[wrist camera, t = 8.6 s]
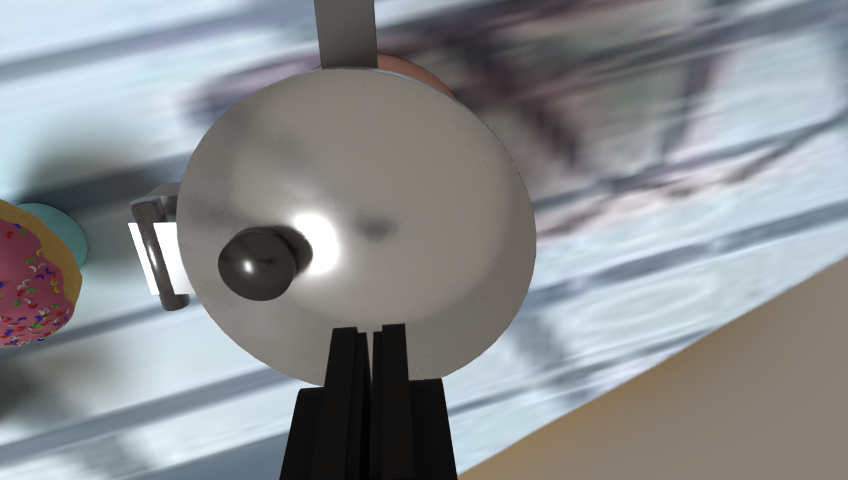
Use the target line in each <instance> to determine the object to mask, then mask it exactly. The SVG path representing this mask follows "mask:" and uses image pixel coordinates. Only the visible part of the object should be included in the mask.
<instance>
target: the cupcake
mask: <svg viewBox="0 0 848 480" xmlns="http://www.w3.org/2000/svg"><path fill="white" fill-rule="evenodd" d="M87 252H88V244H87V240H86V237H85V235H84V233H83V231H82V229H81V228H80V227H79V225H78V224H77V223H76V222H75V221H74V220H73V219H72V218H71V217H69V216H68V215H67V214H65V213H64V212H62V211H60V210H58V209H56V208H54V207H51V206H48V205H44V204H38V203H27V204H20V205H12V204H10V203H8V202H6V201H3V200H1V199H0V346H1V345H6V346H7V345H12V346H14V347H18V346H22V345H21V344H25V343H30V342H31V341H34V340H38V341H42V340H44V339H45V338H46V337H47V336H48V335H50V334H52V333H54V332H55V331H57V330H59V329H60V328H63V327H64V325H65V324H67V322H68V321H69V320H70V318H71V317H72V315H73V313H74V309H75V305H76V302H77V299H78V297H79V293H80V289H81V285H82V276H81V273H80V269H81V267H82V265H83V263H84V261H85V259H86V256H87ZM14 344H16V345H14Z"/></svg>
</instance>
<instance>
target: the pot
mask: <svg viewBox="0 0 848 480" xmlns="http://www.w3.org/2000/svg"><path fill="white" fill-rule="evenodd" d="M314 6H315V15H316V23H317V32H318V40H319V49H320V58H321V66H319V67H317V68H315V69H314V70H316V69H323V68H333V67H343V66H345V67H369V68H375V69H381V70H386V71H392V72H397V73H400V74H403V75H406V76H409V77H412V78H415V79H418V80H421V81H423V82H425V83H427V84H430V85H432V86H434V87H436V88H438V89H440V90H442V91H444V92H446V93H447V94H449V95H450V96H452V97H453V98H455V96H454V95H453V94H452V93H451V92H450V90H449V89H448V88H447V87H446V86H445V85H444V84H443V83H442V82H441V81H440V80H439V79H437V78H436V77H435V76H434V75H433V74H431V73H429V72H428V71H426V70H425V69H423V68H422V67H420V66H418V65H416V64H414V63H412V62H410V61H407V60H404V59H401V58H398V57H395V56H389V55H383V54H377V41H376V26H375V11H374V0H314ZM455 99H456V98H455ZM456 100H457V99H456ZM180 186H181V183H163V184H160V185H158V186H157V187H156V188H154V189H153V190H152V191H150V192H149V193H148V194H146V195H145V196H144V197H146V196H159V197H161V201H162V204H163V207H164V211H165V214H176V212H177V200H178V194H179V190H180Z"/></svg>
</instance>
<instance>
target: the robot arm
mask: <svg viewBox="0 0 848 480" xmlns="http://www.w3.org/2000/svg"><path fill="white" fill-rule="evenodd" d="M279 480H458V479H457V472H456V466H455V459H454V453H453V446H452V440H451V433H450V427H449V420H448V414H447V407H446V401H445V395H444V388H443V382H442V378H436V379H423V380H409V374H408V359H407V344H406V329H405V323H401V324H386V325H382V331H375V332H373V357H372V381H371V371H370V361H369V351H368V342H367V333H366V332H361V333H358V329H357V327H342V328H333V330H332V336H331V343H330V349H329V356H328V363H327V369H326V376H325V382H324V387H316V388H303V389H300V390H299V392H298V396H297V400H296V404H295V409H294V414H293V418H292V423H291V428H290V432H289V437H288V442H287V446H286V451H285V456H284V460H283V465H282V469H281V474H280V479H279Z"/></svg>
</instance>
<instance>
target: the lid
mask: <svg viewBox="0 0 848 480" xmlns="http://www.w3.org/2000/svg"><path fill="white" fill-rule="evenodd" d="M129 204H130V207H131V210H132V213H133V216H134V220H133V221H131V222H130V223H128V224H129V227H130V230H131V233H132V236H133V239H134V242H135V245H136V248H137V251H138V254H139V257H140V260H141V263H142V266H143V269H144V272H145V275H146V278H147V281H148V284H149V287H150V290H151V293H152V295H154V294H159V297H160V300H161V303H162V306H163V309H164V310H167V311H175V310H179V309H182V308H184V307H186V306H187V305H188V304H189V303H190V297H189V294H196V295H197V297H198V299H199V301H200V302H201V304H202V305H203V306H204V308H205V309H206V311H207V312H208V314H209V315H210V317H211V318H212V319H213V320H214V321H215V322H216V323H217V325H218V326H219V327H220V328H221V329H222V330H223V331H224V333H226V334H227V335H228V336H229V337H230V338H231V339H232V340H233V341H234V342H235V343H236V344H238V345H239V346H240V347H241V348H243V349H244V350H245V351H247V352H248V353H249V354H251V355H252V356H253V357H255V358H256V359H258V360H260V361H261V362H263V363H265V364H266V365H268V366H270V367H272V368H273V369H275V370H278V371H280V372H282V373H284V374H286V375H288V376H291V377H293V378H296V379H299V380H302V381H305V382H308V383H310V384H314V385H318V386H323V387H324V382H325V376H326V369H327V363H328V356H329V349H330V343H331V336H332V330H333V328H342V327H357V329H358V333H361V332H366V333H367V342H368V351H369V361H370V371H371V381H372V357H373V332H375V331H382V325H386V324H401V323H405V329H406V344H407V359H408V374H409V380H423V379H436V378H442V377H444V376H447V375H449V374H451V373H453V372H454V371H456V370H458V369H460V368H462V367H464V366H465V365H467V364H468V363H470V362H471V361H473V360H474V359H476V358H477V357H478V356H480V355H481V354H482V353H483V352H485V351H486V350H487V349H488V348H489V347H490V346H491V345H492V344H494V343H495V342H496V340H497V339H498V338H499V337H500V336H501V335H502V334H503V332H504V331H505V330H506V329H507V328H508V326H509V325H510V323H511V322H512V320H513V319H514V317H515V316H516V314H517V313H518V311H519V309H520V307H521V305H522V303H523V301H524V299H525V296H526V294H527V291H528V288H529V285H530V282H531V279H532V276H533V270H534V264H535V258H536V228H535V220H534V213H533V209H532V205H531V202H530V199H529V195H528V192H527V189H526V187H525V185H524V182H523V180H522V178H521V176H520V174H519V171H518V169H517V167H516V165H515V164H514V162H513V160H512V158H511V157H510V155H509V154H508V152H507V150H506V149H505V147H504V146H503V144H502V143H501V141H500V140H499V139H498V137H497V136H496V135H495V134H494V133H493V132H492V131H491V129H490V128H489V127H488V126H487V125H486V124H485V122H484V121H482V120H481V119H480V118H479V117H478V116H477V115H476V114H474V113H473V112H472V111H471V110H470V109H469V108H468V107H466V106H465V105H464V104H462V103H461V102H459V101H458V100H456V99H455V98H453V97H452V96H450V95H449V94H447V93H446V92H444V91H442V90H440V89H438V88H436V87H434V86H432V85H430V84H427V83H425V82H423V81H421V80H418V79H415V78H412V77H409V76H406V75H403V74H400V73H397V72H392V71H386V70H381V69H375V68H369V67H345V66H343V67H333V68H323V69H316V70H312V71H307V72H303V73H299V74H295V75H292V76H289V77H287V78H285V79H282V80H280V81H277V82H275V83H272V84H270V85H268V86H266V87H264V88H262V89H260V90H258V91H256V92H255V93H253V94H251V95H250V96H248V97H246V98H245V99H243V100H241V101H240V102H238V103H237V104H236V105H234V106H233V107H232V108H231V109H230V110H228V111H227V112H226V113H225V114H224V115H222V116H221V117H220V118H219V119H218V120H217V121H216V123H215V124H214V125H213V126H212V127H211V128H210V129H209V131H208V132H207V133H206V134H205V135H204V136H203V138H202V140H201V141H200V143H199V144H198V146H197V148H196V149H195V151H194V152H193V154H192V156H191V158H190V160H189V163H188V165H187V168H186V170H185V172H184V175H183V178H182V182H181V186H180V190H179V194H178V200H177V212H176V214H165V211H164V207H163V204H162V201H161V197H159V196H146V197H141V198H137V199H135V200H133V201H131V202H130V203H129Z"/></svg>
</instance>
